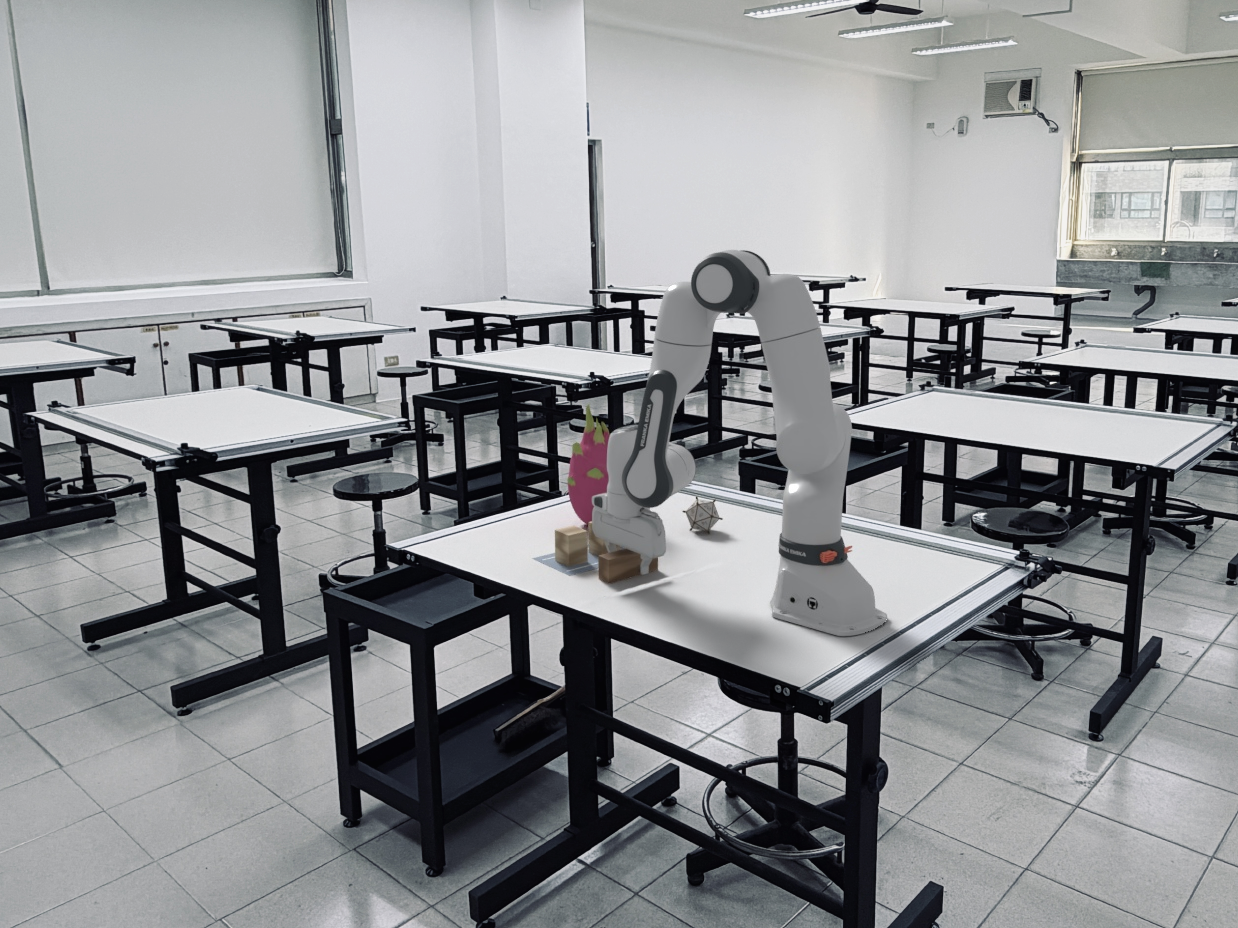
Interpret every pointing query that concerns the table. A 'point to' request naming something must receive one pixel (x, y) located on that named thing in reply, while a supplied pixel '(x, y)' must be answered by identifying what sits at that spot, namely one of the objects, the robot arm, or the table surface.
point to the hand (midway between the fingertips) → (628, 567)
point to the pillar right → (597, 543)
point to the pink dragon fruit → (588, 468)
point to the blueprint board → (571, 570)
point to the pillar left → (571, 546)
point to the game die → (702, 515)
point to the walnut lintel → (621, 565)
